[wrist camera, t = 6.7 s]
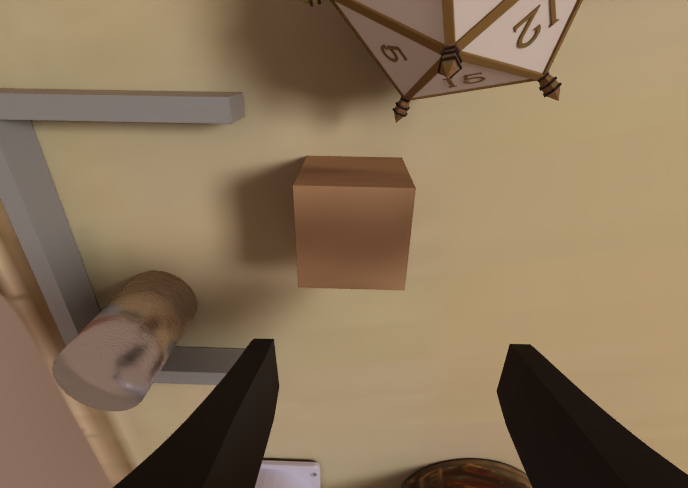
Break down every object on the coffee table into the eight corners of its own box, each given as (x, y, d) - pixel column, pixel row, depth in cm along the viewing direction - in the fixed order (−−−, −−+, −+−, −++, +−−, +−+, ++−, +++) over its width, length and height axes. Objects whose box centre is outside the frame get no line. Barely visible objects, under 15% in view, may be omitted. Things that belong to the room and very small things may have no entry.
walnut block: (394, 241, 19) (404, 290, 15) (310, 239, 20) (298, 287, 16) (401, 157, 17) (415, 188, 13) (307, 155, 17) (292, 185, 13)
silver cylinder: (204, 325, 22) (157, 410, 17) (141, 327, 23) (75, 412, 17) (186, 269, 20) (127, 344, 15) (118, 272, 21) (35, 348, 15)
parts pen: (271, 361, 24) (264, 386, 22) (101, 356, 24) (81, 380, 22) (242, 92, 16) (228, 97, 14) (-3, 88, 16) (-47, 92, 15)
